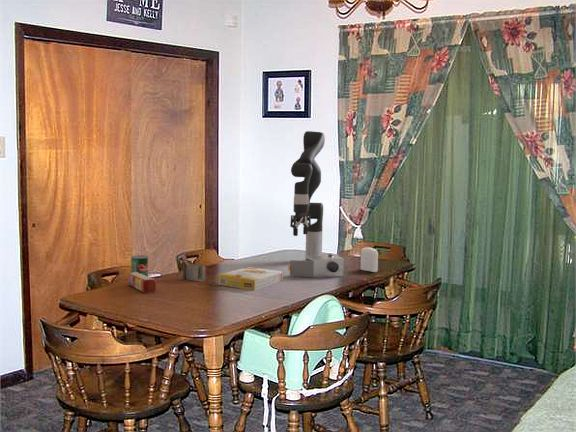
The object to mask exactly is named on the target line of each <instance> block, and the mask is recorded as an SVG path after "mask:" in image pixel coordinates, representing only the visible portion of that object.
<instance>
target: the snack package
mask: <svg viewBox="0 0 576 432" xmlns="http://www.w3.org/2000/svg"><path fill="white" fill-rule="evenodd" d="M127 284H128V285H129V286H131V287H133V288H135V289H137V290H139V292H142V293H144V294H153V293H155V292H156V291H157V281H156V279H155V278H153V277H149V276H148V277H147V276H145V275H143V274H140V273H138V272H133V273H131V272H130V273H128V274H127Z"/></svg>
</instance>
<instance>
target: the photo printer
mask: <svg viewBox="0 0 576 432" xmlns="http://www.w3.org/2000/svg"><path fill="white" fill-rule="evenodd" d="M360 270H362V271H365V272H372V273H377V272H378V271H379V251H378V249H375V248H373V247H370V246H369V247H363V248H361V251H360Z"/></svg>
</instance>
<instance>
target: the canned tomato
mask: <svg viewBox="0 0 576 432" xmlns="http://www.w3.org/2000/svg"><path fill="white" fill-rule="evenodd" d="M130 258H131V260H130V263H131V264H130V265H131V266H130V267H131V268H130V269H131V270H130V271H131V272H130V273H133V272H138V273H140V274H143V275H145V276H147V277H149V256H148V255H140V254H139V255H138V254H137V255H132V256H131V257H130Z"/></svg>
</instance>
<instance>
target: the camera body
mask: <svg viewBox="0 0 576 432" xmlns="http://www.w3.org/2000/svg"><path fill="white" fill-rule="evenodd" d="M344 260H345V258H344V257H341V256H339V255H337V254H334V253H328V254H322V255H311V256H306V261H313V277H312V278H329V277H330V278H331V277H344V267H345V266H344V262H345V261H344Z"/></svg>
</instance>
